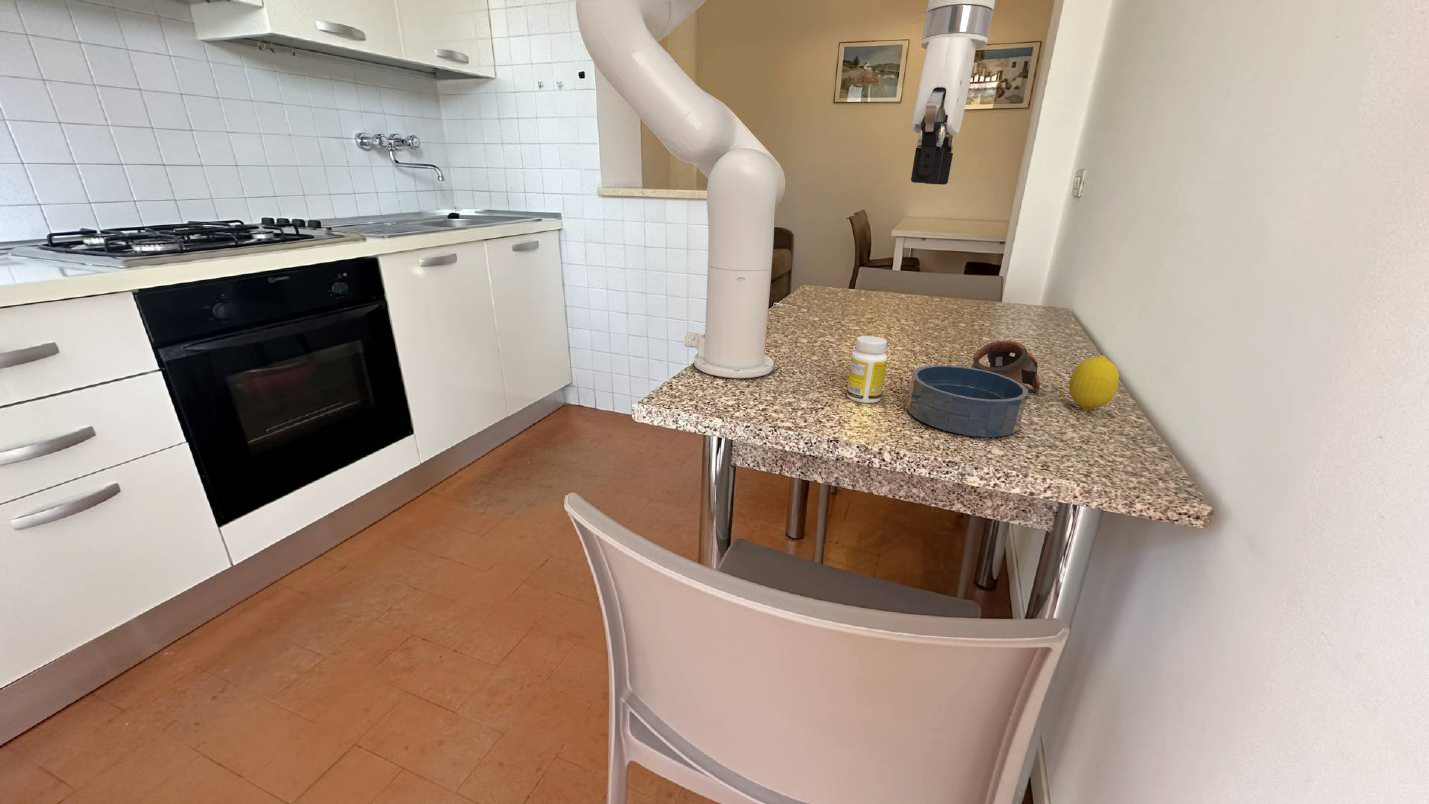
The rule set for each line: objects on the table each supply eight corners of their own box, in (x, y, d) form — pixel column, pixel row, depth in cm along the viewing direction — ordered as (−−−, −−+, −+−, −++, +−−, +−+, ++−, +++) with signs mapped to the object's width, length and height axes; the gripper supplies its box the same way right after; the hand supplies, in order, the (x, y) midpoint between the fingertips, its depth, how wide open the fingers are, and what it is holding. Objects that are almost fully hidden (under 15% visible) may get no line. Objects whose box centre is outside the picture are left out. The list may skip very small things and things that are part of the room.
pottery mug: (1053, 404, 82) (1045, 359, 78) (985, 423, 85) (973, 381, 81) (1024, 360, 92) (1015, 318, 88) (963, 379, 95) (952, 339, 91)
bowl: (897, 423, 72) (904, 386, 70) (915, 392, 83) (921, 359, 81) (1017, 449, 66) (1027, 409, 64) (1019, 412, 78) (1028, 377, 76)
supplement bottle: (879, 393, 82) (888, 336, 79) (882, 405, 77) (892, 345, 74) (845, 390, 83) (853, 333, 79) (846, 401, 78) (854, 342, 75)
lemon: (1082, 402, 83) (1098, 348, 80) (1118, 416, 78) (1136, 360, 75) (1053, 404, 81) (1068, 350, 78) (1087, 420, 76) (1105, 362, 73)
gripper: (933, 48, 78) (911, 183, 84) (911, 15, 63) (887, 181, 69) (993, 45, 75) (966, 185, 81) (984, 10, 60) (952, 184, 66)
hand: (929, 183), depth 75 cm, fingers open, 9 cm apart
